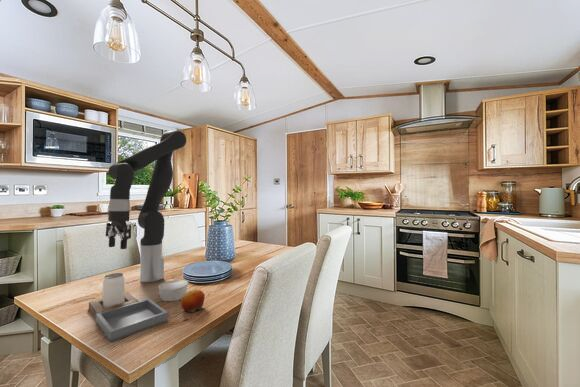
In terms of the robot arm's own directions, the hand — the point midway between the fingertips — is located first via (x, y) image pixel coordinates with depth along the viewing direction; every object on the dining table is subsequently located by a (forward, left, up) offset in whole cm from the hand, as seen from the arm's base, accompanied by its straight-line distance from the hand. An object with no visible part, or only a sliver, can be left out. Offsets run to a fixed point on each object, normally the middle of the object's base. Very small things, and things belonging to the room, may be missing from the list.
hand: (117, 247), depth 109 cm
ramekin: (-13, +23, -19) cm, 33 cm away
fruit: (-13, +39, -19) cm, 46 cm away
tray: (+5, +33, -19) cm, 39 cm away
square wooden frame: (+6, +17, -19) cm, 26 cm away
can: (+6, +17, -19) cm, 26 cm away
